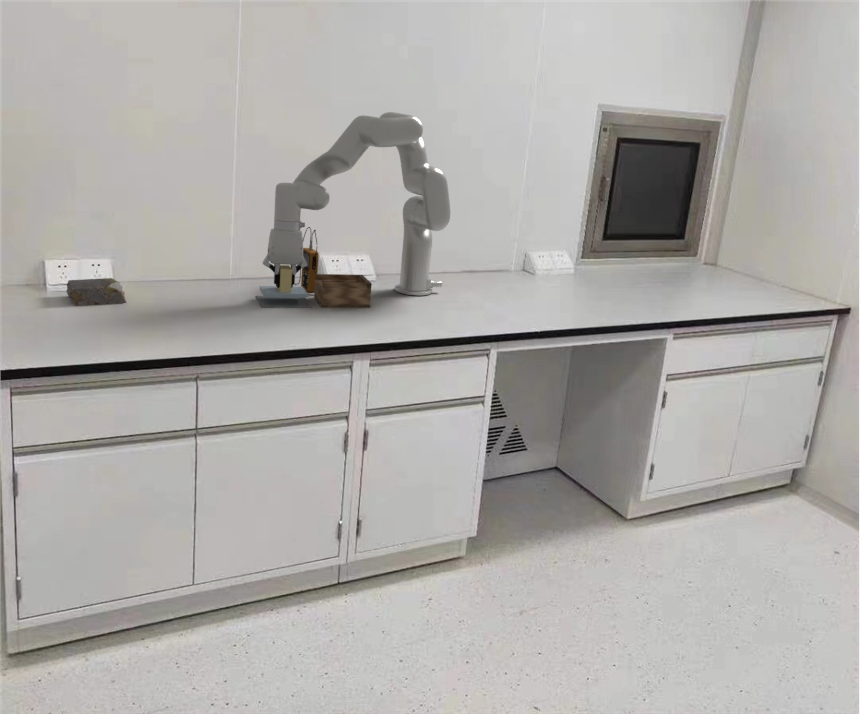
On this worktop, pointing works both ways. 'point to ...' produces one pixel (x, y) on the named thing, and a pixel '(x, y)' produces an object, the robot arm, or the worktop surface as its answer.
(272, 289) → the cover plate
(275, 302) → the mat
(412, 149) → the robot arm
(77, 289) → the geological specimen
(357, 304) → the case
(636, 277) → the worktop surface
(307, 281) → the multimeter
